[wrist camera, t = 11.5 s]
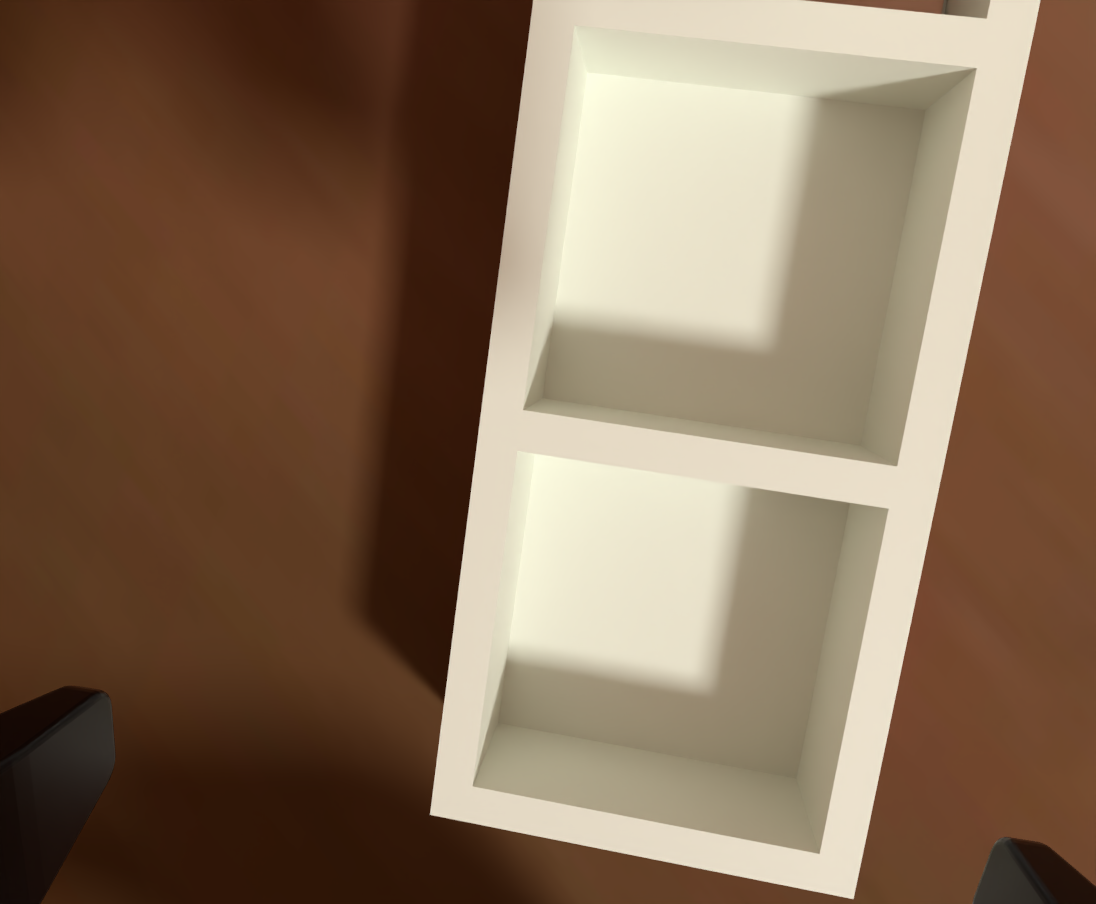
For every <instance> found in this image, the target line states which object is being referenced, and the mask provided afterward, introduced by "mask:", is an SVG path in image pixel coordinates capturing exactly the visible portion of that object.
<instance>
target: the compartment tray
mask: <svg viewBox="0 0 1096 904" xmlns="http://www.w3.org/2000/svg"><path fill="white" fill-rule="evenodd" d="M1039 5H1040V0H533V6H532V14H531V22H530V30H529V38H528V46H527V54H526V62H525V70H524V77H523V85H522V93H521V101H520V109H519V117H518V125H517V133H516V140H515V148H514V156H513V164H512V172H511V180H510V188H509V196H508V204H507V211H506V219H505V227H504V235H503V243H502V251H501V259H500V267H499V274H498V282H497V290H496V298H495V306H494V314H493V322H492V330H491V338H490V345H489V353H488V361H487V369H486V377H485V385H484V393H483V401H482V408H481V416H480V424H479V432H478V440H477V448H476V456H475V464H474V472H473V479H472V487H471V495H470V503H469V511H468V519H467V527H466V535H465V542H464V550H463V558H462V566H461V574H460V582H459V590H458V598H457V606H456V613H455V621H454V629H453V637H452V645H451V653H450V661H449V669H448V676H447V684H446V692H445V700H444V708H443V716H442V724H441V732H440V740H439V747H438V755H437V763H436V771H435V779H434V787H433V795H432V803H431V811H430V815H434V816H439V817H444V818H449V819H454V820H459V821H464V822H469V823H474V824H479V825H484V826H489V827H494V828H499V829H504V830H509V831H514V832H519V833H524V834H529V835H534V836H539V837H544V838H549V839H554V840H559V841H564V842H569V843H574V844H579V845H584V846H589V847H594V848H599V849H604V850H610V851H615V852H620V853H625V854H630V855H635V856H640V857H645V858H650V859H655V860H660V861H665V862H670V863H675V864H680V865H685V866H690V867H695V868H700V869H705V870H710V871H715V872H720V873H725V874H730V875H735V876H740V877H745V878H750V879H755V880H760V881H765V882H770V883H775V884H780V885H785V886H790V887H795V888H800V889H805V890H810V891H815V892H821V893H826V894H831V895H836V896H841V897H846V898H851V899H854V894H855V889H856V884H857V879H858V875H859V870H860V865H861V860H862V855H863V851H864V846H865V841H866V836H867V831H868V827H869V822H870V817H871V812H872V807H873V802H874V798H875V793H876V788H877V783H878V778H879V774H880V769H881V764H882V759H883V754H884V750H885V745H886V740H887V735H888V730H889V726H890V721H891V716H892V711H893V706H894V702H895V697H896V692H897V687H898V682H899V678H900V673H901V668H902V663H903V658H904V654H905V649H906V644H907V639H908V634H909V629H910V625H911V620H912V615H913V610H914V605H915V601H916V596H917V591H918V586H919V581H920V577H921V572H922V567H923V562H924V557H925V553H926V548H927V543H928V538H929V533H930V529H931V524H932V519H933V514H934V509H935V505H936V500H937V495H938V490H939V485H940V481H941V476H942V471H943V466H944V461H945V457H946V452H947V447H948V442H949V437H950V432H951V428H952V423H953V418H954V413H955V408H956V404H957V399H958V394H959V389H960V384H961V380H962V375H963V370H964V365H965V360H966V356H967V351H968V346H969V341H970V336H971V332H972V327H973V322H974V317H975V312H976V308H977V303H978V298H979V293H980V288H981V284H982V279H983V274H984V269H985V264H986V259H987V255H988V250H989V245H990V240H991V235H992V231H993V226H994V221H995V216H996V211H997V207H998V202H999V197H1000V192H1001V187H1002V183H1003V178H1004V173H1005V168H1006V163H1007V159H1008V154H1009V149H1010V144H1011V139H1012V135H1013V130H1014V125H1015V120H1016V115H1017V111H1018V106H1019V101H1020V96H1021V91H1022V86H1023V82H1024V77H1025V72H1026V67H1027V62H1028V58H1029V53H1030V48H1031V43H1032V38H1033V34H1034V29H1035V24H1036V19H1037V14H1038V10H1039Z"/></svg>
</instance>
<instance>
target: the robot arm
mask: <svg viewBox="0 0 1096 904" xmlns="http://www.w3.org/2000/svg"><path fill="white" fill-rule="evenodd" d="M114 764H115V741H114V729H113V716H112V705H111V700H110V698H109V696H108V694H107V693H105V692H104V691H102V690H97V689H91V688H85V687H79V686H64V687H62V688H59V689H57V690H54V691H52V692H50V693H47V694H45V695H43V696H40V697H38V698H36V699H33V700H31V701H29V702H26V703H24V704H22V705H19V706H17V707H15V708H12V709H10V710H8V711H5V712H3V713H1V714H0V904H40V903H41V902H42V900H43V898H44V897H45V895H46V893H47V891H48V889H49V888H50V886H51V884H52V882H53V880H54V879H55V877H56V875H57V873H58V871H59V870H60V868H61V866H62V864H63V862H64V861H65V859H66V857H67V855H68V853H69V851H70V850H71V848H72V846H73V844H74V842H75V841H76V839H77V837H78V835H79V833H80V832H81V830H82V828H83V826H84V824H85V823H86V821H87V819H88V817H89V815H90V813H91V812H92V810H93V808H94V806H95V804H96V803H97V801H98V799H99V797H100V795H101V794H102V792H103V790H104V788H105V786H106V785H107V783H108V781H109V779H110V776H111V774H112V771H113V768H114ZM973 904H1096V886H1095V885H1093V884H1092V883H1091V882H1090V881H1089V880H1088V879H1086V878H1085V877H1084V876H1083V875H1082V874H1081V873H1079V872H1078V871H1077V870H1076V869H1075V868H1073V867H1072V866H1071V865H1070V864H1069V863H1068V862H1066V861H1065V860H1064V859H1063V858H1062V857H1061V856H1059V855H1058V854H1057V853H1056V852H1055V851H1054V850H1052V849H1051V848H1050V847H1048V846H1047V845H1045V844H1043V843H1040V842H1035V841H1029V840H1023V839H1017V838H1011V837H1004V838H1000V839H999V840H997V842H996V843H995V844H994V846H993V848H992V850H991V852H990V855H989V858H988V861H987V863H986V866H985V869H984V871H983V874H982V877H981V879H980V882H979V885H978V888H977V890H976V893H975V896H974V899H973Z"/></svg>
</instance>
